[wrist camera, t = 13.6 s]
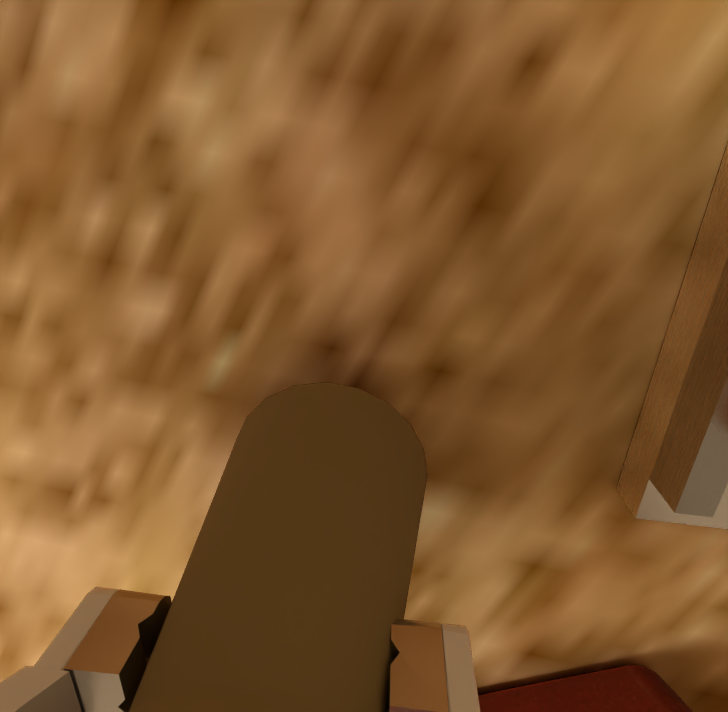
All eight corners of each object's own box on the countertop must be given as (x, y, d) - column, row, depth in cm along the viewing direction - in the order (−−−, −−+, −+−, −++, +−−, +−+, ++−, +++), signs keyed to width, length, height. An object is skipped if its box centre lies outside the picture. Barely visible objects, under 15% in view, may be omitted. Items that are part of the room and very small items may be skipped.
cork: (196, 444, 14) (-326, 1108, 4) (349, 343, 13) (77, 1083, 2) (314, 569, 16) (139, 1275, 6) (465, 496, 14) (598, 1337, 4)
